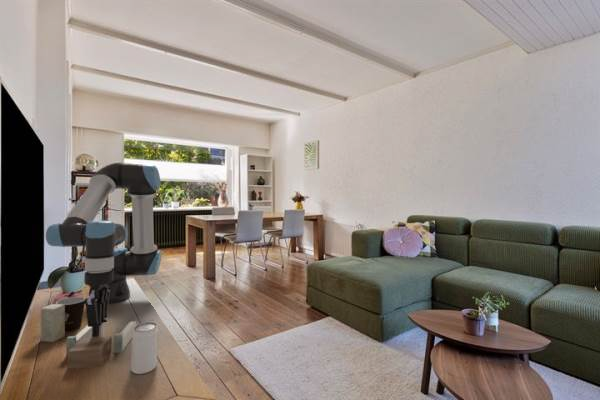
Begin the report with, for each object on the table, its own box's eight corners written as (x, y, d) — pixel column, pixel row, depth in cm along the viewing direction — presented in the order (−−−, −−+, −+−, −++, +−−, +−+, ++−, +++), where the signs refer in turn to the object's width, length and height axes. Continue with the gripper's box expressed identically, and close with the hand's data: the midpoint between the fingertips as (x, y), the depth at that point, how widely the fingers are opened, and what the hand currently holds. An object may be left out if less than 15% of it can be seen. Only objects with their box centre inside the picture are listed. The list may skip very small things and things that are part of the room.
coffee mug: (90, 325, 110) (91, 298, 109) (65, 335, 101) (66, 306, 101) (69, 320, 113) (69, 294, 113) (43, 329, 105) (44, 301, 105)
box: (65, 336, 100) (66, 304, 100) (53, 342, 96) (54, 309, 96) (51, 335, 101) (52, 303, 101) (38, 341, 97) (40, 308, 97)
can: (129, 377, 79) (131, 333, 79) (132, 364, 85) (134, 323, 85) (156, 372, 82) (157, 329, 82) (157, 360, 88) (158, 320, 88)
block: (82, 354, 90) (82, 338, 90) (111, 352, 92) (111, 336, 92) (67, 369, 82) (68, 351, 82) (99, 366, 84) (100, 349, 84)
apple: (85, 310, 123) (86, 286, 123) (79, 318, 115) (80, 293, 115) (57, 313, 119) (58, 289, 119) (49, 321, 111) (50, 295, 111)
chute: (88, 335, 102) (89, 319, 102) (135, 332, 105) (136, 316, 105) (66, 356, 88) (66, 338, 88) (121, 352, 91) (121, 334, 91)
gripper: (95, 265, 97) (93, 336, 97) (74, 275, 84) (72, 357, 84) (120, 265, 99) (118, 334, 99) (103, 275, 86) (101, 355, 86)
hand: (97, 345), depth 92 cm, fingers closed
